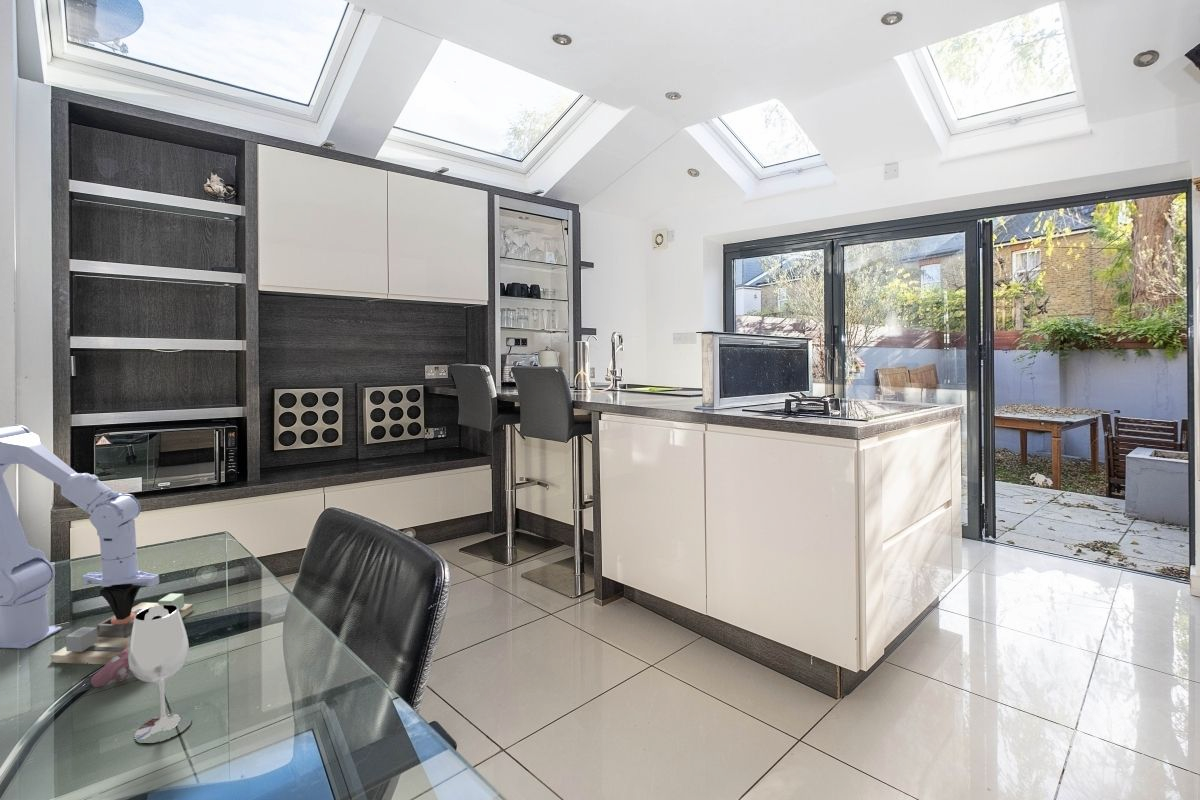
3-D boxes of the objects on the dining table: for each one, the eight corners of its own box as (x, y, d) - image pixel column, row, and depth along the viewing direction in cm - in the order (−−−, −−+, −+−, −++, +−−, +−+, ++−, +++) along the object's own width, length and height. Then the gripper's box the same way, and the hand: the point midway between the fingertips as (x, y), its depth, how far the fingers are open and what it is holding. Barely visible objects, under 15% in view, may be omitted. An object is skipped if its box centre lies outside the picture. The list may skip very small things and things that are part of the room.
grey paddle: (66, 651, 113) (65, 636, 112) (83, 641, 116) (82, 627, 116) (81, 651, 113) (80, 637, 112) (98, 641, 116) (97, 627, 116)
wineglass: (154, 713, 98) (147, 601, 96) (203, 712, 99) (197, 600, 97) (120, 746, 91) (112, 624, 88) (174, 744, 91) (166, 624, 89)
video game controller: (105, 699, 104) (117, 668, 103) (85, 685, 105) (97, 654, 103) (156, 668, 114) (168, 640, 113) (138, 655, 114) (150, 627, 113)
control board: (51, 662, 112) (49, 642, 112) (142, 608, 134) (140, 592, 134) (112, 664, 112) (111, 645, 112) (193, 610, 134) (192, 593, 133)
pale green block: (158, 613, 128) (158, 600, 128) (171, 606, 131) (170, 593, 131) (172, 614, 128) (171, 601, 128) (184, 606, 131) (183, 593, 131)
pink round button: (106, 633, 120) (105, 621, 120) (122, 623, 124) (121, 612, 124) (125, 633, 120) (125, 622, 120) (141, 624, 124) (140, 612, 123)
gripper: (66, 561, 116) (71, 625, 118) (138, 563, 116) (142, 628, 117) (97, 548, 123) (101, 609, 125) (165, 550, 123) (168, 611, 124)
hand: (123, 617), depth 122 cm, fingers closed, pressing on pink round button
